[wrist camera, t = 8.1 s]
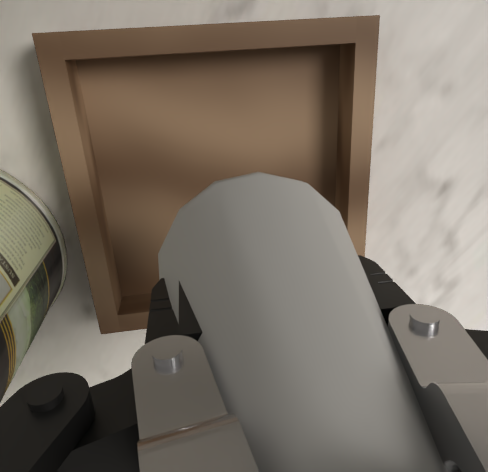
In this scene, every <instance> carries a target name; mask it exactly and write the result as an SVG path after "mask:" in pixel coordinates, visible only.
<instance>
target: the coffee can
mask: <svg viewBox="0 0 488 472" xmlns="http://www.w3.org/2000/svg"><path fill="white" fill-rule="evenodd" d="M66 268H67V256H66V248H65V243H64V239H63V236H62V233H61V231H60V228H59V226H58V224H57V222H56V220H55V219H54V217H53V216H52V214H51V213H50V211H49V209H48V208H47V207H46V206H45V205H44V203H43V202H42V201H41V200H40V199H39V198H38V197H37V196H36V195H35V194H34V193H33V192H32V191H31V190H30V189H29V188H27V187H26V186H25V185H23V184H22V183H21V182H19V181H18V180H17V179H15V178H14V177H12V176H10V175H9V174H7V173H6V172H4V171H2V170H0V402H1V400H2V398H3V396H4V394H5V392H6V390H7V388H8V386H9V385H10V383H11V381H12V379H13V377H14V375H15V373H16V371H17V369H18V367H19V366H20V364H21V362H22V360H23V358H24V356H25V354H26V352H27V350H28V348H29V347H30V345H31V343H32V341H33V339H34V337H35V335H36V333H37V331H38V329H39V327H40V326H41V324H42V322H43V320H44V318H45V316H46V314H47V312H48V310H49V308H50V307H51V305H52V304H53V303H54V302H55V300H56V299H57V297H58V295H59V293H60V291H61V289H62V286H63V283H64V280H65V276H66Z"/></svg>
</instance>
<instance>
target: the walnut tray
mask: <svg viewBox="0 0 488 472" xmlns="http://www.w3.org/2000/svg"><path fill="white" fill-rule="evenodd" d="M379 20H380V15H375V16H356V17H337V18H317V19H298V20H279V21H260V22H240V23H221V24H202V25H182V26H163V27H144V28H125V29H105V30H86V31H67V32H48V33H32V36H33V40H34V45H35V49H36V53H37V58H38V62H39V66H40V71H41V75H42V79H43V84H44V88H45V92H46V97H47V101H48V106H49V110H50V114H51V119H52V123H53V127H54V132H55V136H56V140H57V145H58V149H59V153H60V158H61V162H62V167H63V171H64V175H65V180H66V184H67V188H68V193H69V197H70V201H71V206H72V210H73V214H74V219H75V223H76V228H77V232H78V236H79V241H80V245H81V249H82V254H83V258H84V262H85V267H86V271H87V276H88V280H89V284H90V289H91V293H92V297H93V302H94V306H95V310H96V315H97V319H98V323H99V328H100V332H101V334H107V333H115V332H123V331H131V330H139V329H147V324H148V316H149V308H150V303H151V301H150V300H151V292H152V288H153V287H154V286H155V285H156V284H157V282H158V281H159V263H158V253H159V251H160V249H161V246H162V244H163V242H164V240H165V238H166V236H167V234H168V232H169V230H170V228H171V226H172V224H173V221H174V219H175V217H176V215H177V213H178V211H179V209H180V208H182V207H183V206H184V205H185V204H187V203H188V202H189V201H190V200H192V199H193V198H194V197H196V196H197V195H198V194H199V193H201V192H202V191H203V190H204V189H206V188H207V187H208V186H210V185H211V184H212V183H213V182H215V181H219V180H224V179H228V178H233V177H237V176H242V175H246V174H251V173H255V172H262V173H266V174H271V175H276V176H280V177H285V178H290V179H294V180H299V181H303V182H305V183H308V184H309V185H310V186H311V187H313V188H314V189H315V190H316V191H317V192H318V193H319V194H320V195H322V196H323V197H324V198H325V199H326V200H327V201H328V202H329V203H331V204H332V205H333V206H334V207H335V208H336V209H337V210H338V211H339V212H340V214H341V217H342V219H343V221H344V224H345V226H346V229H347V231H348V233H349V236H350V238H351V241H352V243H353V245H354V248H355V250H356V253H357V255H361V256H363V257H364V256H365V240H366V224H367V209H368V193H369V177H370V162H371V146H372V130H373V114H374V99H375V83H376V67H377V51H378V36H379Z"/></svg>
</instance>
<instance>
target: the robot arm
mask: <svg viewBox="0 0 488 472" xmlns="http://www.w3.org/2000/svg"><path fill="white" fill-rule="evenodd" d="M358 257H359V260H360V262H361V264H362V267H363V269H364V272H365V274H366V276H367V279H368V281H369V284H370V286H371V288H372V291H373V293H374V296H375V298H376V300H377V303H378V305H379V308H380V310H381V312H382V315H383V317H384V319H385V322H386V324H387V327H388V329H389V332H390V334H391V337H392V339H393V342H394V344H395V347H396V349H397V352H398V354H399V356H400V359H401V361H402V364H403V366H404V369H405V371H406V374H407V376H408V379H409V381H410V383H411V386H412V388H413V391H414V393H415V396H416V398H417V401H418V403H419V405H420V408H421V410H422V413H423V415H424V418H425V420H426V423H427V425H428V428H429V430H430V432H431V435H432V437H433V440H434V442H435V445H436V447H437V450H438V452H439V455H440V457H441V459H442V462H443V464H444V465H445V466H446V468H447V470H448V472H488V331H481V330H468V329H464V328H463V326H462V325H461V324H460V322H459V321H458V320H457V319H456V318H455V317H454V316H453V315H451V314H450V313H448V312H446V311H444V310H442V309H439V308H437V307H433V306H429V305H423V304H416V303H415V302H414V301H413V300H412V299H411V298H410V297H409V296H408V295H407V294H406V293H405V292H404V291H403V290H402V289H401V288H400V287H399V286H398V285H397V284H396V283H395V282H393V280H392V279H391V278H390V277H389V276H388V275H387V274H385V272H384V271H383V269H382V268H381V267H380V266H379V265H378V264H377V263H376V262H374V261H372V260H370V259H367V258H365V257H363V256H361V255H358ZM150 301H151V303H150V308H149V316H148V324H147V332H146V340H145V345H143V346H142V347H141V348H140V349H139V350H138V351H137V352H136V353H135V355H134V356H133V359H132V362H131V369H130V370H128V371H127V372H125V373H124V374H122V375H120V376H118V377H116V378H114V379H111V380H109V381H106V382H103V383H100V384H98V385H95V386H92V387H89V386H88V382H87V381H86V380H85V379H84V378H83V377H82V376H80V375H78V374H74V373H68V372H64V373H54V374H50V375H46V376H43V377H41V378H38V379H36V380H34V381H32V382H30V383H28V384H26V385H25V386H23V387H22V388H21V389H19V390H18V391H17V392H16V393H15V394H13V395H12V396H11V397H10V398H9V399H8V400H7V401H6V402H5V403H4V404H3V405H2V406H1V407H0V472H259V470H258V467H257V465H256V462H255V460H254V457H253V455H252V452H251V450H250V447H249V445H248V442H247V440H246V437H245V435H244V432H243V430H242V427H241V425H240V422H239V420H238V418H237V416H236V415H235V414H234V413H231V414H228V413H227V411H226V408H225V405H224V403H223V400H222V397H221V395H220V392H219V389H218V387H217V384H216V381H215V379H214V376H213V373H212V371H211V368H210V365H209V363H208V360H207V357H206V355H205V352H204V349H203V347H202V345H201V344H200V343H199V342H198V340H199V338H200V336H201V334H202V330H201V328H200V325H199V323H198V321H197V319H196V317H195V314H194V312H193V310H192V308H191V306H190V303H189V301H188V299H187V297H186V295H185V292H184V290H183V288H182V286H181V284H180V281H179V324H178V321H177V318H176V316H175V313H174V310H173V309H172V305H171V302H170V299H169V295H168V291H167V287H166V283H165V279H164V278H161V279H160V280H159V281H158V282H157V284H156V285H155V286H154V287H153V288H152V292H151V300H150Z"/></svg>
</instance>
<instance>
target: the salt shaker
mask: <svg viewBox="0 0 488 472" xmlns="http://www.w3.org/2000/svg"><path fill="white" fill-rule="evenodd" d="M158 263H159V280H160V279H161V278H164V279H165V283H166V287H167V291H168V295H169V299H170V302H171V305H172V309H173V310H174V313H175V316H176V318H177V321H178V324H179V281H180V284H181V286H182V288H183V290H184V292H185V295H186V297H187V299H188V301H189V303H190V306H191V308H192V310H193V312H194V314H195V317H196V319H197V321H198V323H199V325H200V328H201V330H202V334H201V336H200V338H199V340H198V342H199V343H200V344H201V345H202V347H203V349H204V352H205V355H206V357H207V360H208V363H209V365H210V368H211V371H212V373H213V376H214V379H215V381H216V384H217V387H218V389H219V392H220V395H221V397H222V400H223V403H224V405H225V408H226V411H227V413H228V414H231V413H234V414H235V415H236V416H237V418H238V420H239V422H240V425H241V427H242V430H243V432H244V435H245V437H246V440H247V442H248V445H249V447H250V450H251V452H252V455H253V457H254V460H255V462H256V465H257V467H258V470H259V472H448V470H447V468H446V466H445V465H444V464H443V462H442V459H441V457H440V455H439V452H438V450H437V447H436V445H435V442H434V440H433V437H432V435H431V432H430V430H429V428H428V425H427V423H426V420H425V418H424V415H423V413H422V410H421V408H420V405H419V403H418V401H417V398H416V396H415V393H414V391H413V388H412V386H411V383H410V381H409V379H408V376H407V374H406V371H405V369H404V366H403V364H402V361H401V359H400V356H399V354H398V352H397V349H396V347H395V344H394V342H393V339H392V337H391V334H390V332H389V329H388V327H387V324H386V322H385V319H384V317H383V315H382V312H381V310H380V308H379V305H378V303H377V300H376V298H375V296H374V293H373V291H372V288H371V286H370V284H369V281H368V279H367V276H366V274H365V272H364V269H363V267H362V264H361V262H360V260H359V257H358V255H357V253H356V250H355V248H354V245H353V243H352V241H351V238H350V236H349V233H348V231H347V229H346V226H345V224H344V221H343V219H342V217H341V214H340V212H339V211H338V210H337V209H336V208H335V207H334V206H333V205H332V204H331V203H329V202H328V201H327V200H326V199H325V198H324V197H323V196H322V195H320V194H319V193H318V192H317V191H316V190H315V189H314V188H313V187H311V186H310V185H309V184H308V183H305V182H303V181H299V180H294V179H290V178H285V177H280V176H276V175H271V174H266V173H262V172H255V173H251V174H246V175H242V176H237V177H233V178H228V179H224V180H219V181H215V182H213V183H212V184H211V185H210V186H208V187H207V188H206V189H204V190H203V191H202V192H201V193H199V194H198V195H197V196H196V197H194V198H193V199H192V200H190V201H189V202H188V203H187V204H185V205H184V206H183V207H182V208H180V209H179V211H178V213H177V215H176V217H175V219H174V221H173V224H172V226H171V228H170V230H169V232H168V234H167V236H166V238H165V240H164V242H163V244H162V246H161V249H160V251H159V253H158Z"/></svg>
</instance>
